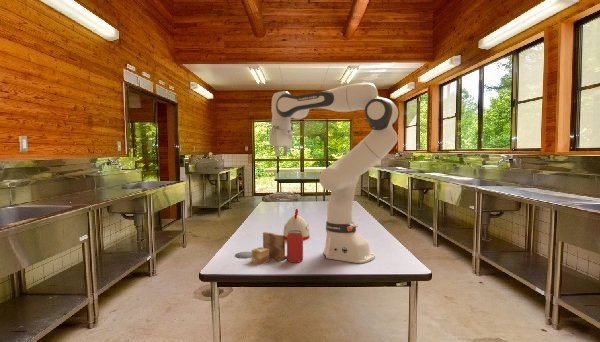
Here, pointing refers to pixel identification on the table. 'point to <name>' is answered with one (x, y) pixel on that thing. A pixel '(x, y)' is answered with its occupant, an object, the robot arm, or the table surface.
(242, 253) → the slate mat
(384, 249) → the table surface
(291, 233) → the beer can
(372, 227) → the table surface
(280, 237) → the screen
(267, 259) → the letter cube
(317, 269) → the table surface
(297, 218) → the kitchen timer
